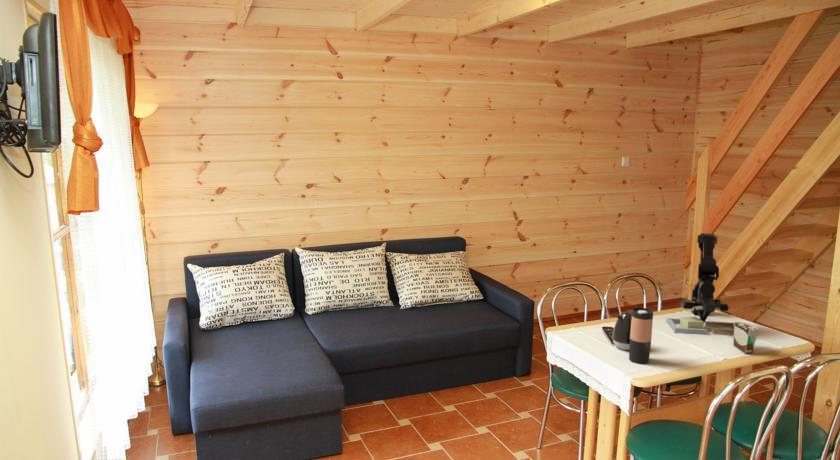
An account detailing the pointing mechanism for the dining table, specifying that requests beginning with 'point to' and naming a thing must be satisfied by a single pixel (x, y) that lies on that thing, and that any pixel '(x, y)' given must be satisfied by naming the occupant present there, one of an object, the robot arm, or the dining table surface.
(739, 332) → the food container
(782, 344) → the dining table surface
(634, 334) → the travel mug
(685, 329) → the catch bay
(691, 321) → the olive block
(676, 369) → the dining table surface
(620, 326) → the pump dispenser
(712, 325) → the walnut chute
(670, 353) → the dining table surface
